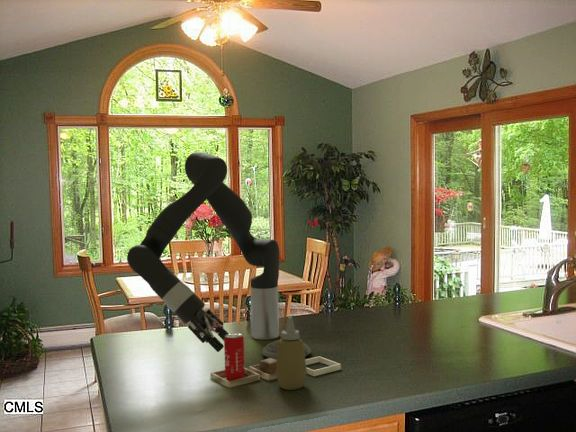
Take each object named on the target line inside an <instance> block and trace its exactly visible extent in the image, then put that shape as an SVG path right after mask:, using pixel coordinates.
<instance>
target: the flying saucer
mask: <svg viewBox="0 0 576 432" xmlns="http://www.w3.org/2000/svg"><path fill="white" fill-rule="evenodd" d="M280 339H281V338H280ZM280 339H276V340H272V341H271V342H269V343H268V344H266V345H265V346H264V347H263V349H262V350H261V354H262V356H264V357H266V358H267V359H268V358H273V359H277V348H278V341H279V340H280ZM303 345H304V353H305V357H307V356H308V355H310V354H311V353H312V350H311V348H310V347H309V346H308V345H307V344H306V343H305V342H303Z"/></svg>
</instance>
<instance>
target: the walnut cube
mask: <svg viewBox="0 0 576 432" xmlns="http://www.w3.org/2000/svg"><path fill="white" fill-rule="evenodd" d="M276 361H277V359H273V358H268V357H267V358H265V359H262V360H260V361H259V364H260V371H262V372H264V373H267V374H272V373H276Z"/></svg>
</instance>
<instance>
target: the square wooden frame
mask: <svg viewBox="0 0 576 432" xmlns="http://www.w3.org/2000/svg"><path fill="white" fill-rule="evenodd" d="M248 369H249V370H251V371H253V372H255V373H258V374H260V379H263V380H265V381H267V382H270V381H272V380H278V379H277V376H276V373H272V374H267V373H264V372H262V371H260V363H258V364H254V365H249V366H248Z"/></svg>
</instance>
